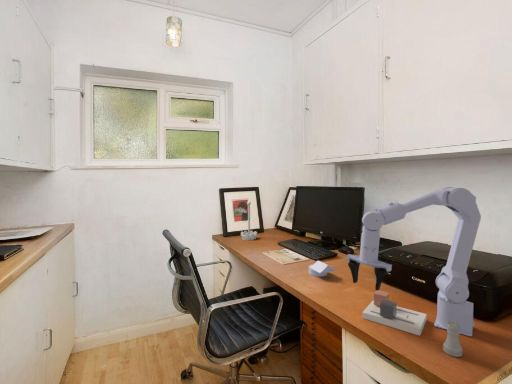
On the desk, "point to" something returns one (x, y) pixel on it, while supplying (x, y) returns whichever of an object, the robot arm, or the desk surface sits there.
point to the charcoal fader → (388, 309)
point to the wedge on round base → (319, 269)
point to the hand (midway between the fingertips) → (366, 285)
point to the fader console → (397, 318)
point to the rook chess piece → (452, 340)
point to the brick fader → (380, 297)
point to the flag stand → (250, 234)
